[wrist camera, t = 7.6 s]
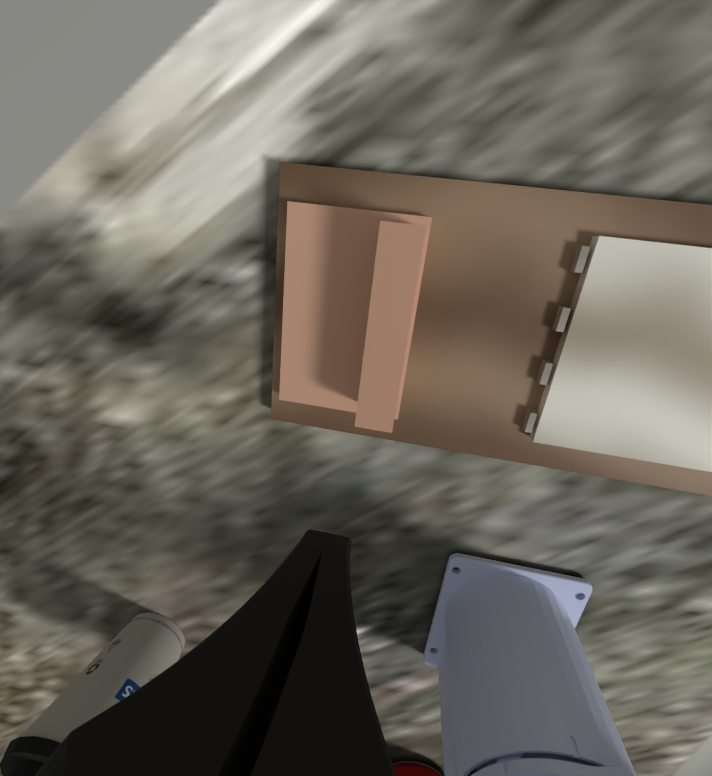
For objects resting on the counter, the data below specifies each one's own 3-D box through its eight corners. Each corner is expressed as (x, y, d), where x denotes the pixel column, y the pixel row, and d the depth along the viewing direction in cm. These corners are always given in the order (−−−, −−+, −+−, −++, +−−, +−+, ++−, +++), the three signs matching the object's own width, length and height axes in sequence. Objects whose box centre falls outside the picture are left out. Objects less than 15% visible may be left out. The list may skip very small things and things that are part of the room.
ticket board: (745, 492, 18) (774, 513, 17) (277, 411, 21) (266, 423, 19) (900, 228, 14) (957, 226, 12) (287, 167, 16) (274, 158, 15)
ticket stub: (398, 414, 19) (395, 444, 16) (283, 395, 19) (259, 420, 16) (431, 218, 15) (435, 210, 12) (291, 203, 16) (264, 191, 13)
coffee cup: (122, 653, 31) (-6, 826, 21) (112, 592, 28) (-37, 757, 19) (201, 673, 30) (104, 861, 21) (197, 612, 28) (86, 794, 18)
